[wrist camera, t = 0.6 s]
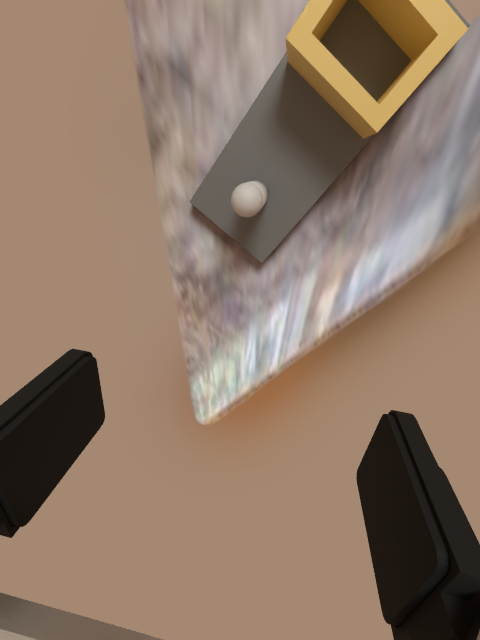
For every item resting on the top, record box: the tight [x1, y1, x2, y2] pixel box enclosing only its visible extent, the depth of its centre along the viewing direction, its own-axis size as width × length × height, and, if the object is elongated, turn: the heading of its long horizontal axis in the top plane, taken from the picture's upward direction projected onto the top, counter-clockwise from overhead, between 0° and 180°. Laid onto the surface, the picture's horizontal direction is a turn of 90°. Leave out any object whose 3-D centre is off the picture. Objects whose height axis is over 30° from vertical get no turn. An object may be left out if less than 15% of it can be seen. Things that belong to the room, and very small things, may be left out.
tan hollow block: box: [286, 0, 468, 139], centre depth 22 cm, size 7×9×5 cm
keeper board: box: [190, 0, 470, 263], centre depth 24 cm, size 24×10×9 cm, turn 142°
